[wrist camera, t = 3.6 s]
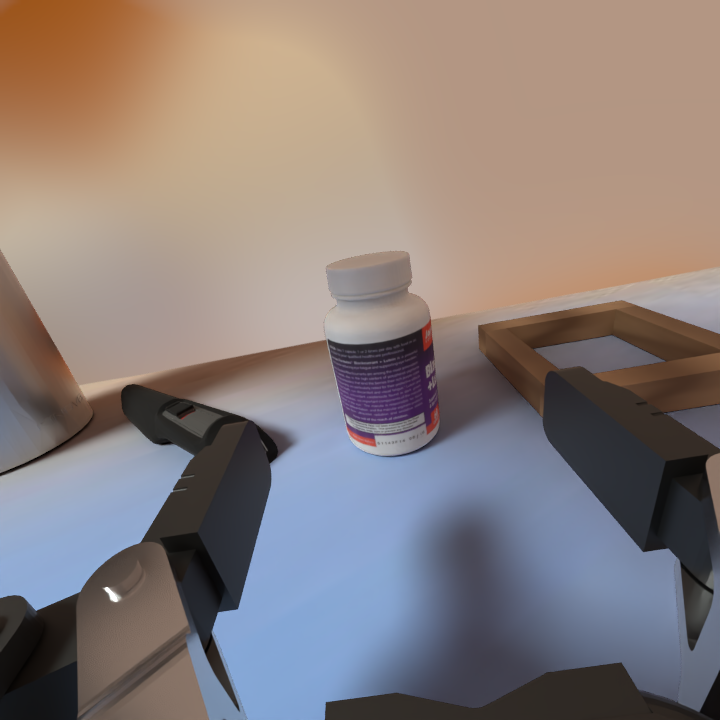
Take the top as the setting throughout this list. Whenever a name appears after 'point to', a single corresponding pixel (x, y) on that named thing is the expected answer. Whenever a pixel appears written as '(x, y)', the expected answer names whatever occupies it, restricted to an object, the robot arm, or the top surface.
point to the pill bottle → (382, 354)
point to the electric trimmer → (180, 420)
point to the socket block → (628, 322)
